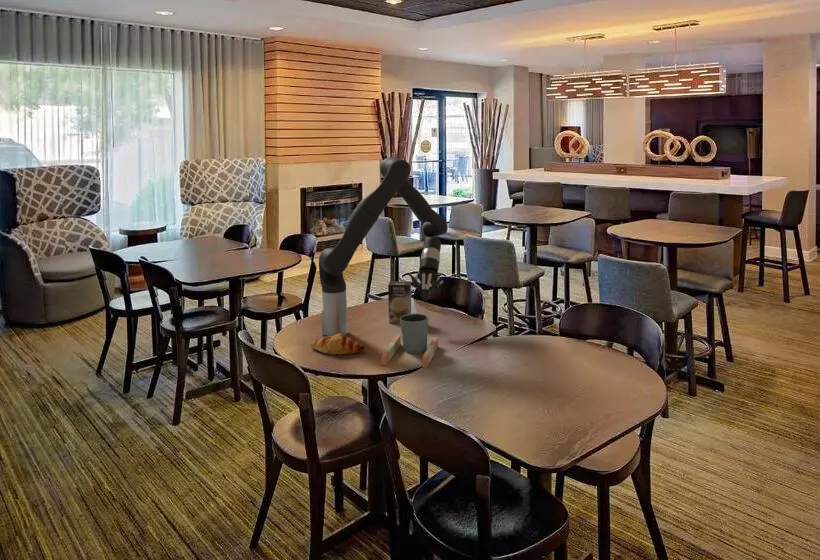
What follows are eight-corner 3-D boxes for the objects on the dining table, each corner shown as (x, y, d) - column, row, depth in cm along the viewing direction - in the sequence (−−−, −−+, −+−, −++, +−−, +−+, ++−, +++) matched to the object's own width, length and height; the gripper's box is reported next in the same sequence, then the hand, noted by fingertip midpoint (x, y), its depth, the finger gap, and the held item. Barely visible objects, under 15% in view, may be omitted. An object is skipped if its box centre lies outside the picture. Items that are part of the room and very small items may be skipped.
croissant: (308, 360, 243) (302, 344, 238) (317, 340, 250) (312, 324, 245) (362, 364, 236) (357, 348, 231) (371, 343, 244) (366, 327, 238)
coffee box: (388, 323, 273) (387, 284, 270) (390, 318, 279) (389, 281, 276) (410, 323, 272) (409, 285, 269) (412, 319, 279) (411, 281, 275)
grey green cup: (432, 346, 244) (431, 314, 242) (424, 355, 235) (423, 322, 232) (405, 343, 248) (405, 312, 245) (396, 352, 238) (396, 320, 235)
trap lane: (381, 365, 226) (381, 355, 225) (396, 344, 247) (396, 335, 246) (426, 367, 223) (426, 357, 222) (438, 346, 244) (437, 337, 243)
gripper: (412, 256, 264) (406, 294, 255) (445, 256, 262) (440, 295, 253) (414, 266, 271) (409, 303, 262) (447, 267, 268) (442, 305, 259)
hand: (424, 299), depth 257 cm, fingers closed
